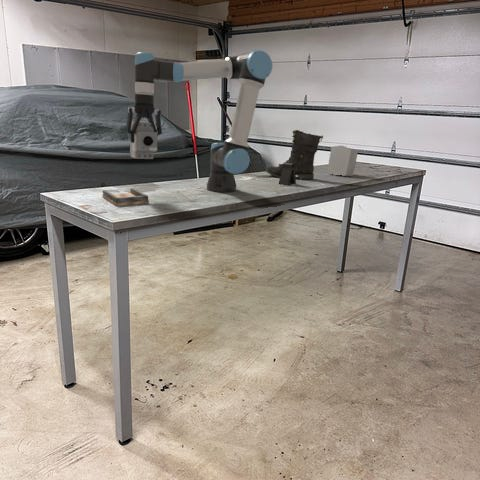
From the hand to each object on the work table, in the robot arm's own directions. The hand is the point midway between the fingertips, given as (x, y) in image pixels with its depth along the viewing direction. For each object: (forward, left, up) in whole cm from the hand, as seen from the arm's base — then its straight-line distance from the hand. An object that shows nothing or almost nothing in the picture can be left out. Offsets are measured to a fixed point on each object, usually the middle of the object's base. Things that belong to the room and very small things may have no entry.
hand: (144, 150), depth 174 cm
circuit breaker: (0, 0, -3) cm, 3 cm away
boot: (-106, -26, -21) cm, 111 cm away
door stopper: (-88, -8, -21) cm, 90 cm away
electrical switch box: (-150, -24, -21) cm, 153 cm away
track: (+9, +1, -20) cm, 22 cm away
